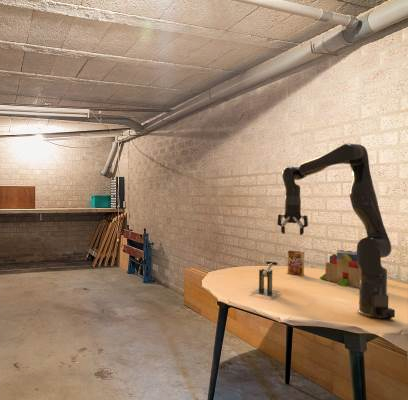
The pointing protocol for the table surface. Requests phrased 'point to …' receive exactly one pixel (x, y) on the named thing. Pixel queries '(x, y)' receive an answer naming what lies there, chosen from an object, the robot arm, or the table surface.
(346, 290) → the table surface
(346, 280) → the block set
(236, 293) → the table surface
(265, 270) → the lever
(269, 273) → the bracket
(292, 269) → the candy box
